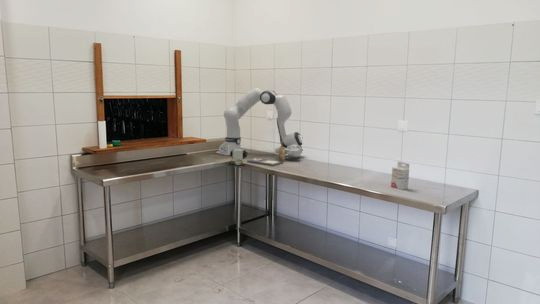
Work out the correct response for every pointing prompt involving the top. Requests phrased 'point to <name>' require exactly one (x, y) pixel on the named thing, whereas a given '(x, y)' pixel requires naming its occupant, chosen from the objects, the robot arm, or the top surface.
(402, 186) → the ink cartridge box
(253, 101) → the robot arm
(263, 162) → the switch board
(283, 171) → the top surface
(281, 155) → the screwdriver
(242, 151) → the pneumatic valve
